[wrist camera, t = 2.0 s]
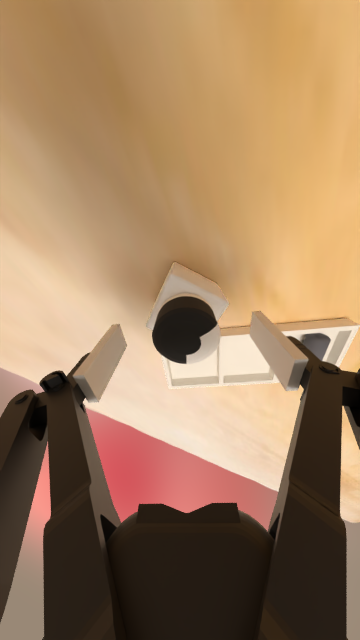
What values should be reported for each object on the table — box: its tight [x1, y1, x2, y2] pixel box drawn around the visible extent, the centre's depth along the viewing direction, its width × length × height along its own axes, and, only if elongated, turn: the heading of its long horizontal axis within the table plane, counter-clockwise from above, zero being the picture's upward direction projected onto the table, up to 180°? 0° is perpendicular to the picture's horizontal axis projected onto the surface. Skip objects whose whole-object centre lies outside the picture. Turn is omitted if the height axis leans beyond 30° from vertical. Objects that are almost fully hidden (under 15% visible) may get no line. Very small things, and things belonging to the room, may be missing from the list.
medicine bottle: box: [146, 262, 229, 364], centre depth 19 cm, size 7×7×12 cm
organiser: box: [161, 318, 360, 389], centre depth 28 cm, size 12×30×2 cm, turn 97°
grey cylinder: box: [303, 333, 331, 361], centre depth 27 cm, size 8×3×3 cm, turn 7°
